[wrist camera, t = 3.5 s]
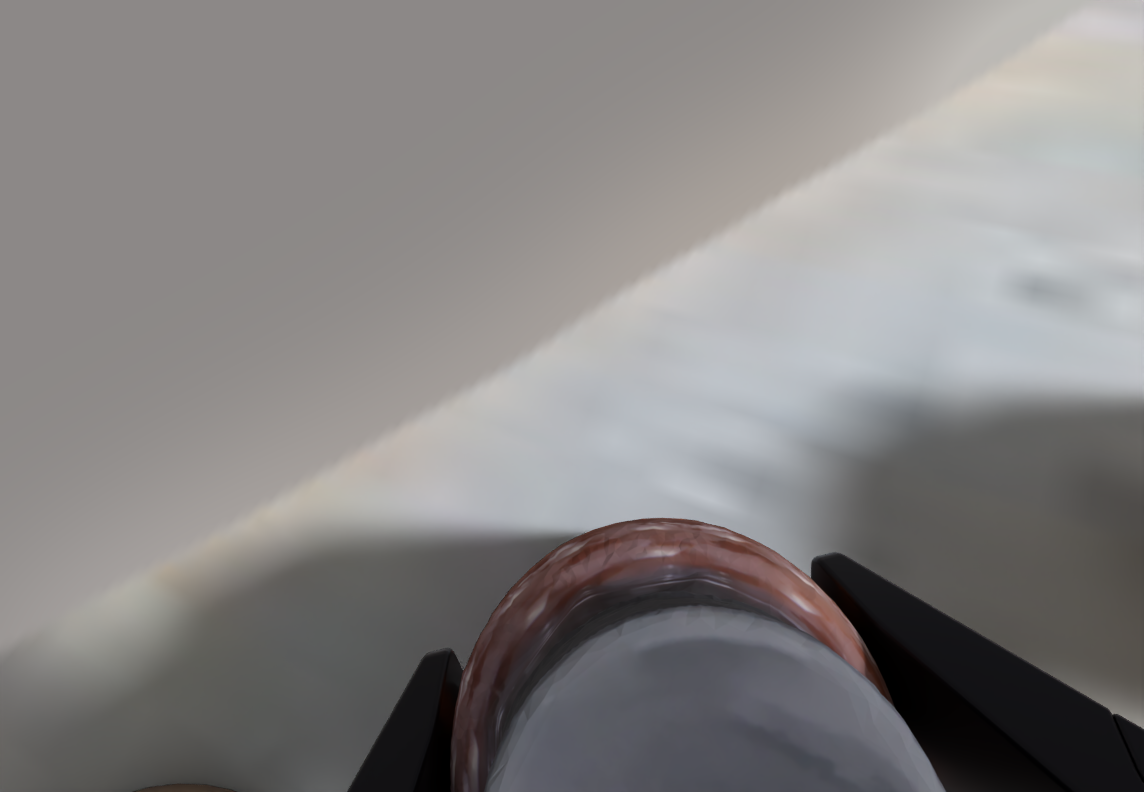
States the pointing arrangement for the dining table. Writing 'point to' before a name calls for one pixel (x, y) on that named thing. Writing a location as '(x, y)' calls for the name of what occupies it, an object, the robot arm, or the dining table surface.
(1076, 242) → the dining table surface
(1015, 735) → the robot arm
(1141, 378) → the dining table surface
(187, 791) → the flange plate
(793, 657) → the supplement bottle
